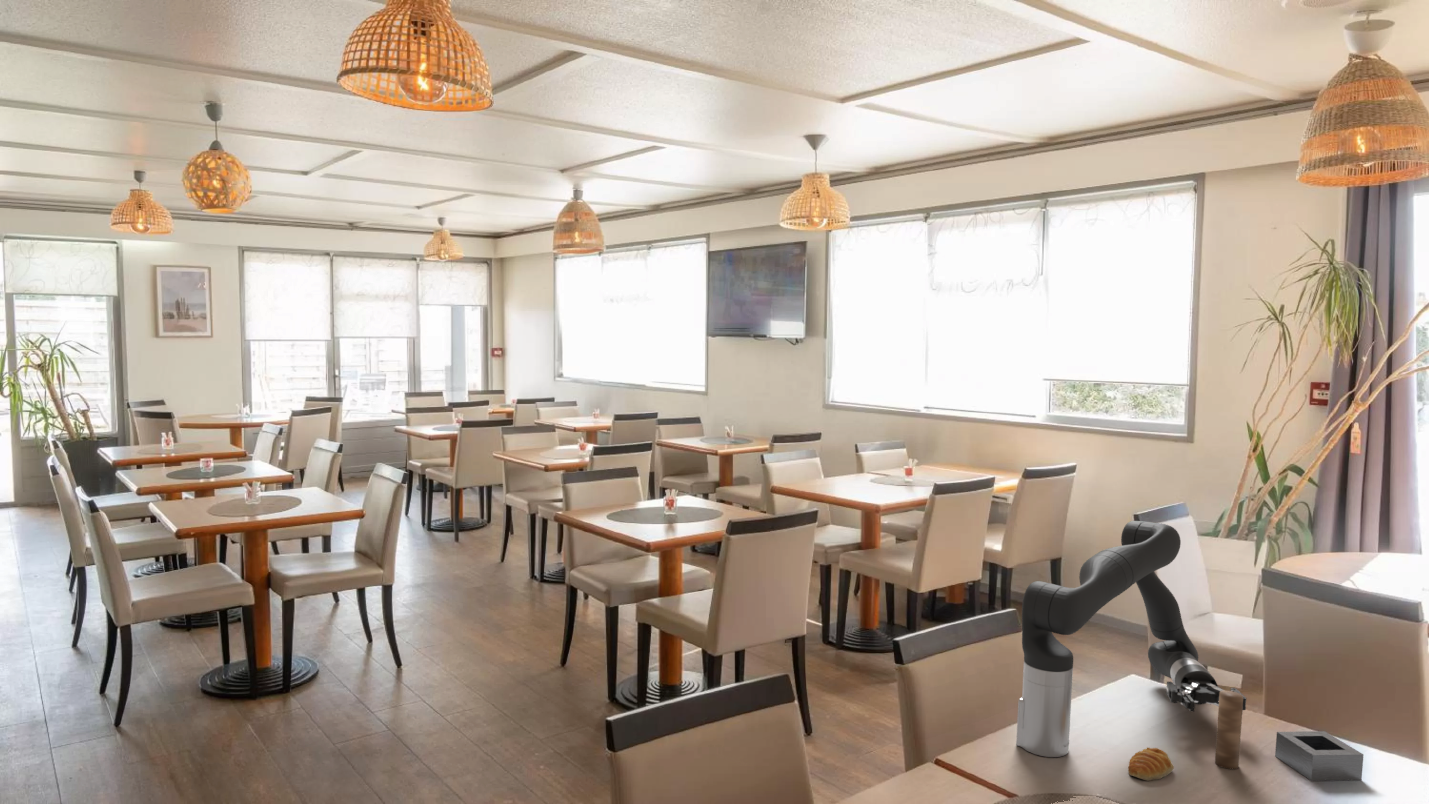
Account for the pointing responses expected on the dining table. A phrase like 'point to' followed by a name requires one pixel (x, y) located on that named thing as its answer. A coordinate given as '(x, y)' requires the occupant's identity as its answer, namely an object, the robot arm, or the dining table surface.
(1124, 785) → the dining table surface
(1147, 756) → the pastry
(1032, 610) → the robot arm
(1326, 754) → the socket block
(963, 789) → the dining table surface
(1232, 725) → the peg
